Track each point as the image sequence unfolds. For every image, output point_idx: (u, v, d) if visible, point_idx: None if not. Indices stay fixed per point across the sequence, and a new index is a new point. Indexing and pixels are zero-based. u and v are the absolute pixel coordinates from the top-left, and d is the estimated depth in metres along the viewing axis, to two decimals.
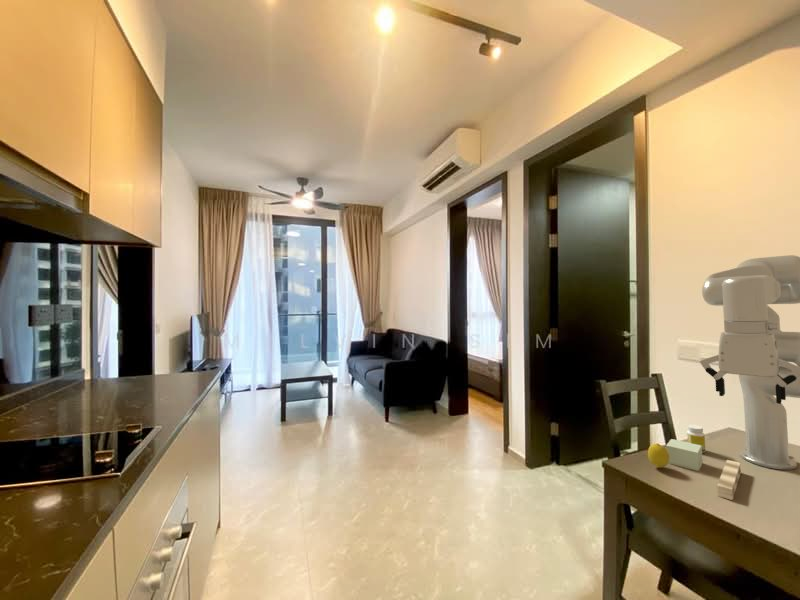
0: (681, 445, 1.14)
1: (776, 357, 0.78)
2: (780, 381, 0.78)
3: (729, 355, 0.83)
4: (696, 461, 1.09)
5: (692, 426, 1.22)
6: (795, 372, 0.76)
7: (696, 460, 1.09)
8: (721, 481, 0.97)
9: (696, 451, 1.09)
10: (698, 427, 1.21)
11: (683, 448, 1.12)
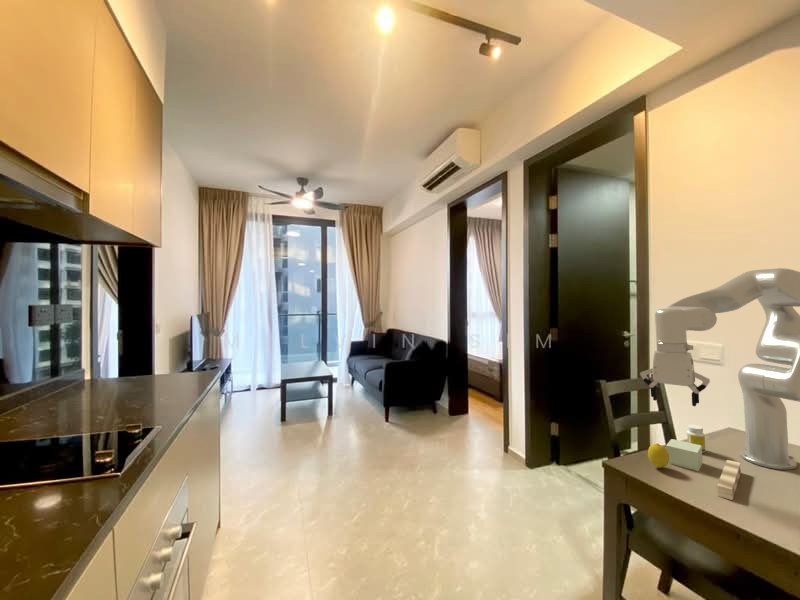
0: (681, 445, 1.14)
1: (692, 371, 1.03)
2: (694, 389, 1.03)
3: (659, 369, 1.08)
4: (696, 461, 1.09)
5: (692, 426, 1.22)
6: (705, 382, 1.01)
7: (696, 460, 1.09)
8: (721, 481, 0.97)
9: (696, 451, 1.09)
10: (698, 427, 1.21)
11: (683, 448, 1.12)
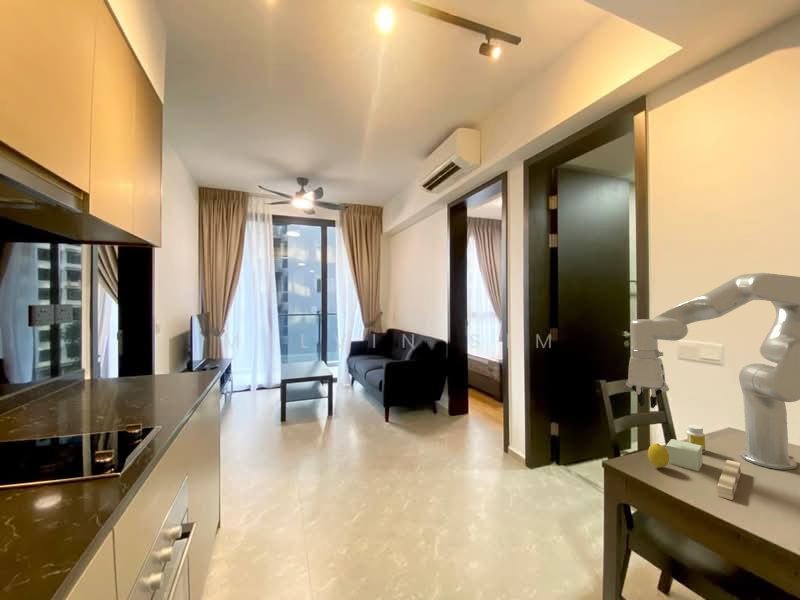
0: (681, 445, 1.14)
1: (661, 375, 1.16)
2: (654, 393, 1.18)
3: (634, 373, 1.21)
4: (696, 461, 1.09)
5: (692, 426, 1.22)
6: (663, 389, 1.17)
7: (696, 460, 1.09)
8: (721, 481, 0.97)
9: (696, 451, 1.09)
10: (698, 427, 1.21)
11: (683, 448, 1.12)
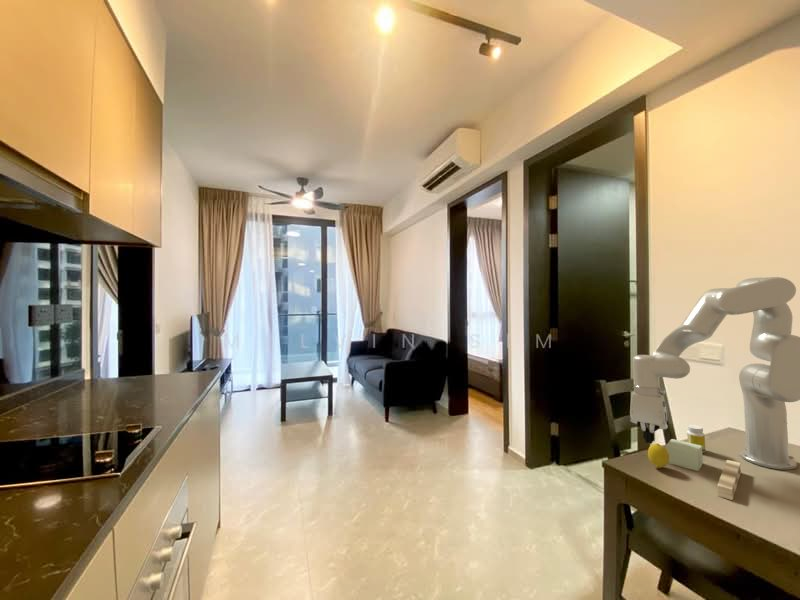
0: (681, 445, 1.14)
1: (663, 412, 1.16)
2: (652, 429, 1.19)
3: (636, 408, 1.22)
4: (696, 461, 1.09)
5: (692, 426, 1.22)
6: (661, 426, 1.17)
7: (696, 460, 1.09)
8: (721, 481, 0.97)
9: (696, 451, 1.09)
10: (698, 427, 1.21)
11: (683, 448, 1.12)
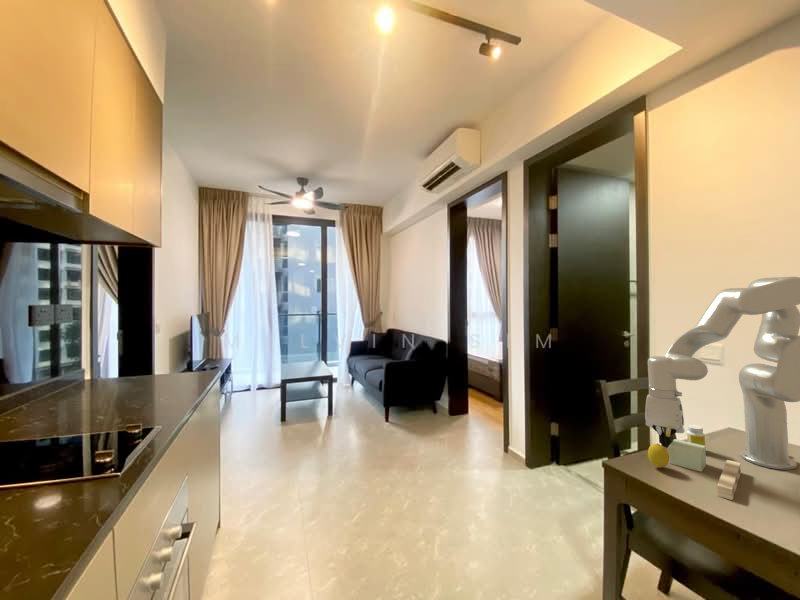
0: (684, 445, 1.13)
1: (680, 416, 1.13)
2: (668, 433, 1.15)
3: (651, 412, 1.18)
4: (699, 461, 1.08)
5: (692, 426, 1.22)
6: (678, 430, 1.14)
7: (699, 460, 1.08)
8: (721, 481, 0.97)
9: (699, 451, 1.08)
10: (698, 427, 1.21)
11: (686, 448, 1.11)
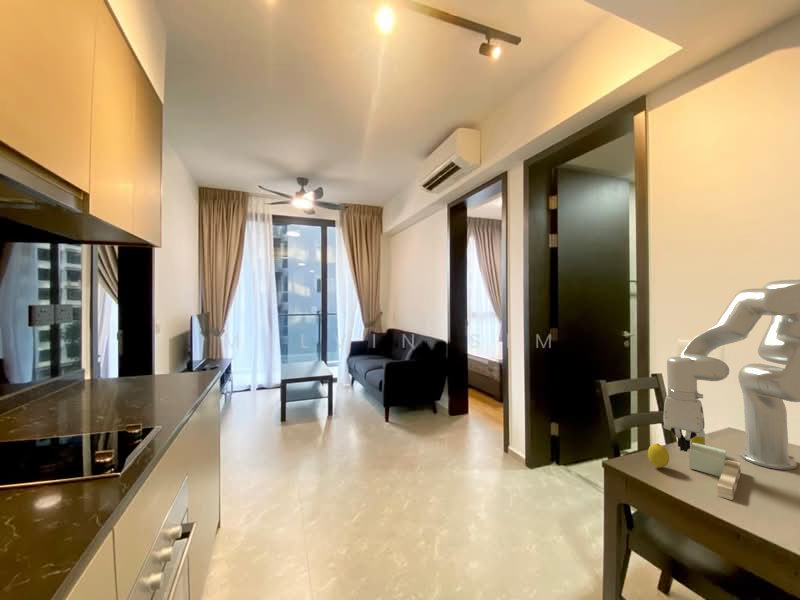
0: (705, 450, 1.09)
1: (701, 419, 1.09)
2: (688, 436, 1.11)
3: (670, 414, 1.14)
4: (722, 467, 1.04)
5: None
6: (699, 434, 1.10)
7: (722, 466, 1.04)
8: (721, 481, 0.97)
9: (722, 456, 1.05)
10: None
11: (708, 453, 1.07)
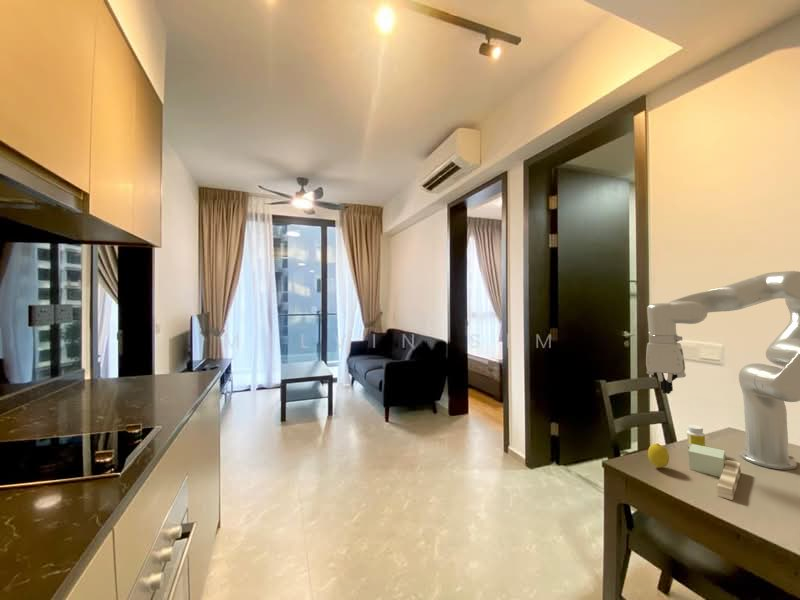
0: (704, 451, 1.09)
1: (681, 360, 1.12)
2: (670, 378, 1.15)
3: (652, 359, 1.18)
4: (721, 467, 1.04)
5: (692, 426, 1.22)
6: (680, 375, 1.14)
7: (721, 466, 1.04)
8: (721, 481, 0.97)
9: (721, 457, 1.05)
10: (698, 427, 1.21)
11: (707, 453, 1.07)
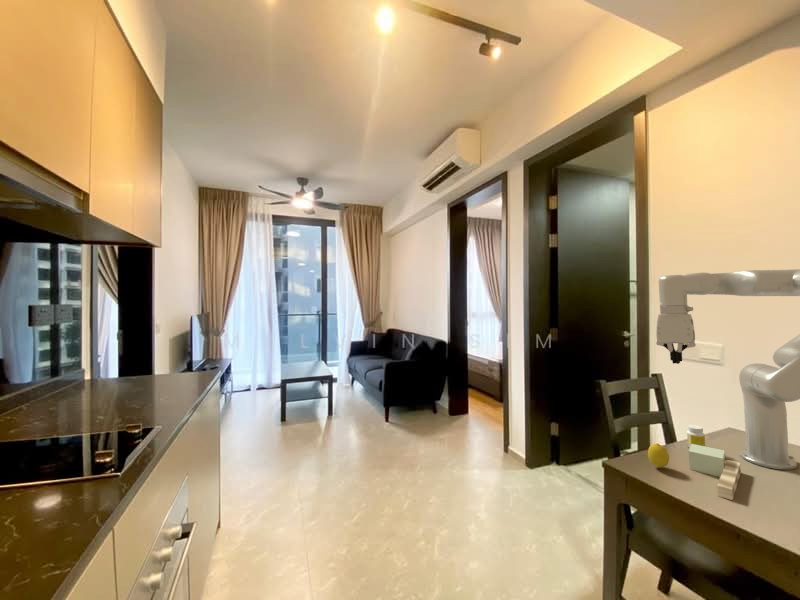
0: (704, 451, 1.09)
1: (691, 329, 1.14)
2: (680, 348, 1.17)
3: (662, 329, 1.20)
4: (721, 467, 1.04)
5: (692, 426, 1.22)
6: (689, 345, 1.16)
7: (721, 466, 1.04)
8: (721, 481, 0.97)
9: (721, 457, 1.05)
10: (698, 427, 1.21)
11: (707, 454, 1.07)
